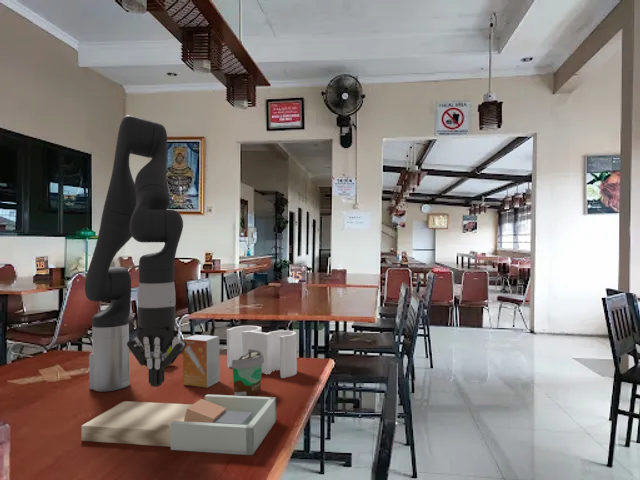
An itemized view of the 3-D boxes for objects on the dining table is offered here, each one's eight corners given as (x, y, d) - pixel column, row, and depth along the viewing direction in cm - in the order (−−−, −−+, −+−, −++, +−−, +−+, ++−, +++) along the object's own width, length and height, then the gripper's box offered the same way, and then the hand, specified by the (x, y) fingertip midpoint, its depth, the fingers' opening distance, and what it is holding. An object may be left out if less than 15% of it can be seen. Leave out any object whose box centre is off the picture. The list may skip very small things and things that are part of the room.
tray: (170, 449, 84) (170, 423, 84) (207, 416, 100) (207, 394, 100) (252, 455, 81) (252, 428, 81) (276, 420, 97) (276, 397, 97)
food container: (255, 401, 109) (254, 361, 109) (232, 400, 110) (231, 360, 110) (270, 386, 121) (270, 349, 121) (249, 385, 122) (249, 348, 122)
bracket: (304, 371, 135) (303, 331, 135) (283, 379, 127) (282, 337, 127) (246, 360, 149) (245, 324, 150) (224, 366, 142) (223, 329, 142)
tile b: (213, 437, 88) (212, 421, 88) (225, 424, 93) (225, 410, 94) (241, 439, 86) (241, 423, 86) (252, 426, 92) (252, 412, 92)
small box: (182, 385, 123) (182, 338, 123) (196, 378, 129) (196, 334, 129) (207, 388, 120) (206, 340, 120) (220, 381, 126) (219, 335, 126)
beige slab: (81, 440, 88) (81, 425, 88) (124, 414, 102) (124, 401, 102) (174, 446, 85) (173, 431, 85) (205, 418, 99) (204, 405, 99)
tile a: (183, 422, 89) (187, 408, 89) (197, 411, 95) (201, 398, 95) (209, 433, 88) (213, 418, 88) (222, 421, 94) (226, 408, 93)
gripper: (117, 305, 91) (117, 389, 91) (176, 307, 88) (176, 393, 88) (138, 300, 98) (138, 378, 98) (194, 302, 96) (193, 381, 96)
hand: (156, 385), depth 93 cm, fingers closed
